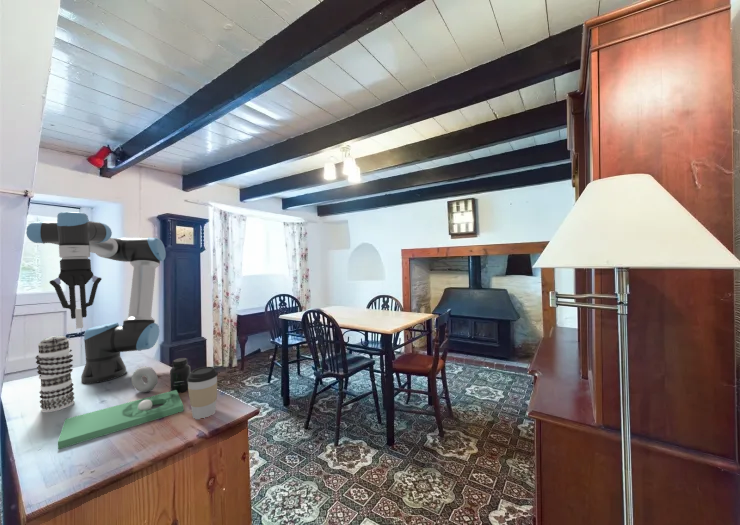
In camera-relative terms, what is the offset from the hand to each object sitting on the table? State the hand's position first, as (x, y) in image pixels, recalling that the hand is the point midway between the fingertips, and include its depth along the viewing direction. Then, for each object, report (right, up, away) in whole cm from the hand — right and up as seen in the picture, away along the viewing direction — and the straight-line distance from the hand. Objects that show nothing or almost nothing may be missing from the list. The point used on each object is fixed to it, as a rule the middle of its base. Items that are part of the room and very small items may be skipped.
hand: (79, 327), depth 104 cm
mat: (+19, -29, -4) cm, 35 cm away
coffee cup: (+44, -28, -3) cm, 52 cm away
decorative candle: (-13, -30, +6) cm, 33 cm away
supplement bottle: (+25, -28, +16) cm, 41 cm away
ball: (+23, -27, 0) cm, 35 cm away
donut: (+11, -29, +16) cm, 35 cm away
